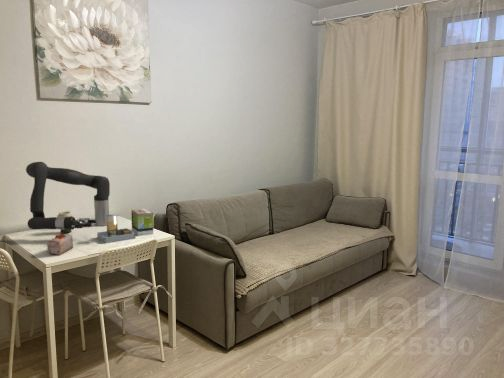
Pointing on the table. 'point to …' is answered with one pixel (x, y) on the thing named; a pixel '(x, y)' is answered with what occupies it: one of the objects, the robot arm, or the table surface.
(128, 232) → the walnut block
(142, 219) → the tea box
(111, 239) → the tote
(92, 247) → the table surface
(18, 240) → the table surface
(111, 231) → the tin can
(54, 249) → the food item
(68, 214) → the character mug
